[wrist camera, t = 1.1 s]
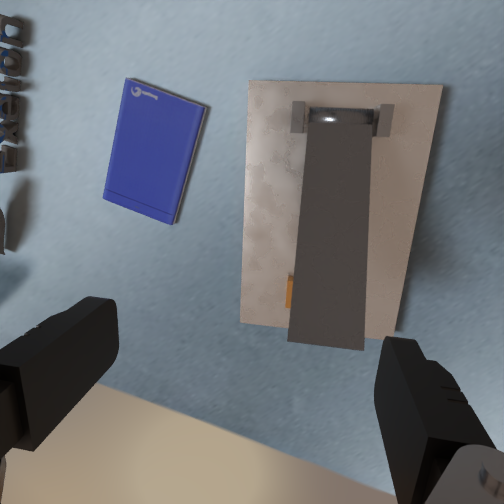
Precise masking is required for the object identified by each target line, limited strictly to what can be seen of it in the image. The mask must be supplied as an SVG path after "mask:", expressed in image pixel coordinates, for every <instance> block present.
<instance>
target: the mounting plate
mask: <svg viewBox="0 0 504 504" xmlns="http://www.w3.org/2000/svg"><path fill="white" fill-rule="evenodd" d="M442 88H443V85H422V84H381V83H340V82H299V81H258V80H249V90H248V118H247V145H246V173H245V200H244V228H243V255H242V283H241V310H240V322H241V323H249V324H257V325H265V326H274V327H282V328H289V318H290V308H291V298H292V287H293V277H294V267H295V256H296V246H297V236H298V225H299V215H300V204H301V194H302V184H303V173H304V163H305V153H306V142H307V132H308V122H309V111H310V107H338V108H368V109H374V118H373V125H372V151H371V178H370V205H369V232H368V258H367V285H366V312H365V338H373V339H381V340H384V338H385V337H386V336H391V337H393V335H394V330H395V325H396V320H397V315H398V310H399V305H400V300H401V295H402V290H403V285H404V280H405V275H406V270H407V265H408V260H409V255H410V250H411V245H412V240H413V235H414V229H415V224H416V219H417V214H418V209H419V204H420V199H421V194H422V189H423V184H424V179H425V174H426V169H427V164H428V159H429V154H430V149H431V144H432V139H433V134H434V129H435V123H436V118H437V113H438V108H439V103H440V98H441V93H442Z"/></svg>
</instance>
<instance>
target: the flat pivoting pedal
mask: <svg viewBox="0 0 504 504" xmlns="http://www.w3.org/2000/svg"><path fill="white" fill-rule="evenodd" d="M373 118H374V109H368V108H338V107H310V111H309V122H308V132H307V142H306V153H305V163H304V173H303V184H302V194H301V204H300V215H299V225H298V236H297V246H296V256H295V267H294V277H293V287H292V298H291V308H290V318H289V329H288V339H287V341H288V342H296V343H303V344H311V345H319V346H327V347H335V348H343V349H351V350H359V351H364V339H365V312H366V285H367V258H368V232H369V205H370V178H371V151H372V125H373Z"/></svg>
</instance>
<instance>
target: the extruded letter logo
mask: <svg viewBox="0 0 504 504" xmlns="http://www.w3.org/2000/svg"><path fill="white" fill-rule="evenodd" d="M7 24H9V25H12V26H15V27H18V28H22V29H23V22H21V21H18V20H16V19H13V18H11V17H8V16H5V15H1V14H0V42H4V43H7V44H10V45H14V46H17V47H20V48H22V41H18V40H15V39H12V38H10V37H8V36H7V35H6V33H5V26H6V25H7ZM4 59H5V64H4ZM21 61H22V58H21V56H20V55H19V54H18V53H17V52H15V51H12V50H9V49H6V48H3V47H0V73H2V74H5V75H8V76H12V77H17V76H19V75H20V74H21ZM0 90H6V91H13V92H19V91H20V81H18V80H15V79H12V78H9V77H6V76H5V77H4V81H3V82H1V81H0ZM18 117H19V99H18V98H16V97H13V96H10V95H7V94H2V93H0V118H1V119H4V120H3V121H2V122H1V123H0V143H1V142H3V141H4V140H5V141H8V142H11V143H14V144H17V140H18V138H16V137H15V136H14V135H13V133H14V132H16V131H17V130H18V123H16V122H13V121H12V120H15V119H17V118H18ZM16 160H17V149H15V148H12V147H9V146H6V145H2V150H1V151H0V173H8V172H16ZM4 233H5V218H4V215H3V212H2V210H1V209H0V254H3V255H5V253H4Z"/></svg>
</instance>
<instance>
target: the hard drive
mask: <svg viewBox="0 0 504 504" xmlns="http://www.w3.org/2000/svg"><path fill="white" fill-rule="evenodd" d="M206 110H207V107H205V106H202V105H199V104H197V103H194V102H191V101H189V100H186V99H183V98H181V97H178V96H175V95H173V94H170V93H167V92H165V91H162V90H159V89H157V88H154V87H151V86H148V85H146V84H143V83H140V82H138V81H135V80H133V79H130V78H126V79H125V84H124V89H123V94H122V100H121V105H120V110H119V115H118V120H117V126H116V131H115V136H114V142H113V147H112V152H111V157H110V162H109V167H108V173H107V178H106V183H105V189H104V193H103V199H105V200H107V201H110V202H112V203H115V204H117V205H120V206H123V207H125V208H128V209H130V210H133V211H135V212H138V213H141V214H143V215H146V216H148V217H151V218H153V219H156V220H158V221H161V222H164V223H166V224H169V225H173V224H175V221H176V217H177V214H178V210H179V207H180V203H181V200H182V196H183V193H184V189H185V185H186V182H187V178H188V174H189V171H190V167H191V164H192V160H193V156H194V153H195V149H196V146H197V142H198V138H199V135H200V131H201V128H202V124H203V120H204V117H205V113H206Z"/></svg>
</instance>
